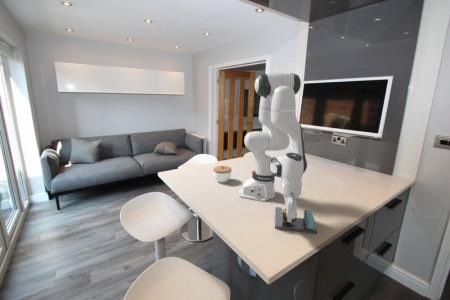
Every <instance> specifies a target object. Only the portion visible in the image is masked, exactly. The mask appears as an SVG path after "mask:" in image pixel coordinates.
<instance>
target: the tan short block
mask: <svg viewBox="0 0 450 300" xmlns="http://www.w3.org/2000/svg"><path fill="white" fill-rule="evenodd" d="M282 214H283V219H284V220H285V221H287V214H286V208H282ZM297 216H298V212H297V211H296V218H298V217H297ZM296 218H295V219H292V221H291V222H288V221H287V222H288V223H292V222H295V221H296Z"/></svg>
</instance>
